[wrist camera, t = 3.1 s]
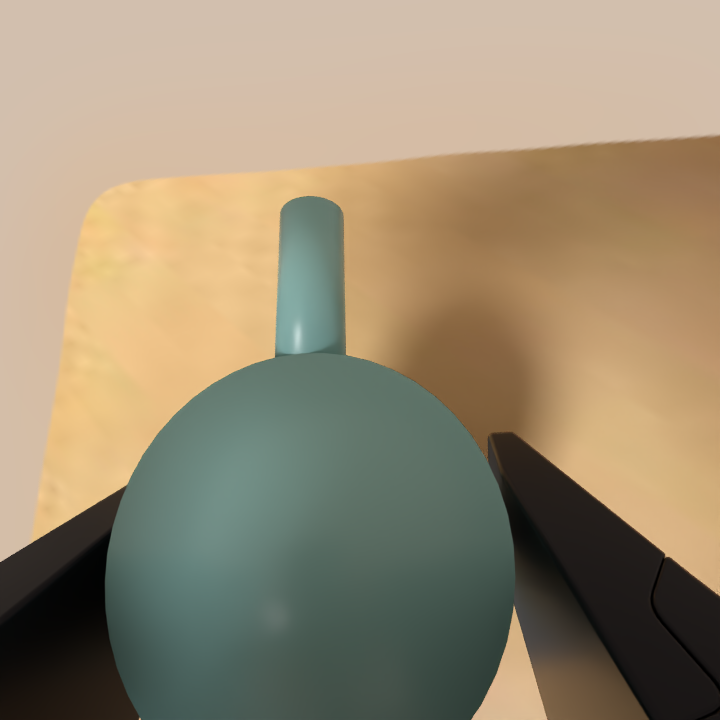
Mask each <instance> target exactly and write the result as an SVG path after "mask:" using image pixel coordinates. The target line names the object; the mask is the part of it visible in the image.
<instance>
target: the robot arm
mask: <svg viewBox="0 0 720 720" xmlns="http://www.w3.org/2000/svg"><path fill="white" fill-rule="evenodd" d="M488 461H489V466H490V468H491V470H492V472H493V474H494V477H495V479H496V481H497V483H498V485H499V488H500V491H501V495H502V498H503V501H504V504H505V507H506V510H507V513H508V518H509V523H510V529H511V534H512V539H513V545H514V561H515V591H514V606H515V609H516V613H517V616H518V620H519V623H520V626H521V630H522V633H523V637H524V640H525V644H526V647H527V651H528V654H529V657H530V661H531V664H532V668H533V671H534V675H535V678H536V682H537V685H538V688H539V692H540V695H541V699H542V702H543V706H544V709H545V713H546V716H547V719H548V720H720V596H719V595H718V594H716V593H715V592H714V591H712V590H711V589H710V588H708V587H707V586H706V585H705V584H703V583H702V582H701V581H699V580H698V579H697V578H695V577H694V576H693V575H692V574H690V573H689V572H688V571H687V570H685V569H684V568H683V567H682V566H680V565H679V564H678V563H677V562H675V561H674V560H673V559H672V558H670V557H666V558H665V554H664V552H662V551H661V550H660V549H659V548H657V547H656V546H655V545H654V544H652V543H651V542H650V541H649V540H647V539H646V538H645V537H644V536H642V535H641V534H640V533H639V532H637V531H636V530H635V529H634V528H632V527H631V526H630V525H629V524H627V523H626V522H625V521H624V520H622V519H621V518H620V517H619V516H617V515H616V514H615V513H614V512H612V511H611V510H610V509H609V508H607V507H606V506H605V505H604V504H602V503H601V502H600V501H599V500H597V499H596V498H595V497H594V496H592V495H591V494H590V493H589V492H587V491H586V490H585V489H584V488H582V487H581V486H580V485H579V484H577V483H576V482H575V481H574V480H572V479H571V478H570V477H569V476H567V475H566V474H565V473H564V472H562V471H561V470H560V469H559V468H557V467H556V466H555V465H554V464H552V463H551V462H550V461H549V460H547V459H546V458H545V457H544V456H542V455H541V454H540V453H539V452H537V451H536V450H535V449H534V448H532V447H531V446H530V445H529V444H527V443H526V442H525V441H524V440H522V439H521V438H520V437H519V436H517V435H516V434H515V433H513V432H500V433H491V434H489V436H488ZM126 487H127V485H126V486H125V487H123V488H121V489H120V490H118V491H116V492H115V493H113V494H112V495H110V496H108V497H107V498H105V499H103V500H102V501H100V502H98V503H97V504H95V505H93V506H92V507H90V508H89V509H87V510H85V511H84V512H82V513H80V514H79V515H77V516H75V517H74V518H72V519H70V520H69V521H67V522H66V523H64V524H62V525H61V526H59V527H57V528H56V529H54V530H52V531H51V532H49V533H47V534H46V535H44V536H43V537H41V538H39V539H38V540H36V541H34V542H33V543H31V544H29V545H28V546H26V547H25V548H23V549H21V550H20V551H18V552H16V553H15V554H13V555H11V556H10V557H8V558H7V559H5V560H4V561H2V562H0V720H139V718H140V716H139V715H138V713H137V711H136V709H135V707H134V706H133V704H132V702H131V700H130V698H129V697H128V694H127V692H126V689H125V687H124V684H123V682H122V679H121V677H120V674H119V672H118V669H117V666H116V662H115V658H114V654H113V651H112V647H111V643H110V639H109V632H108V624H107V617H106V606H105V575H106V564H107V553H108V548H109V543H110V538H111V533H112V528H113V524H114V521H115V518H116V514H117V511H118V508H119V505H120V501H121V499H122V497H123V494H124V492H125V490H126Z"/></svg>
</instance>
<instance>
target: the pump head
mask: <svg viewBox="0 0 720 720" xmlns="http://www.w3.org/2000/svg"><path fill="white" fill-rule="evenodd" d="M514 591H515V561H514V545H513V539H512V534H511V529H510V523H509V518H508V513H507V510H506V507H505V504H504V501H503V498H502V495H501V491H500V488H499V485H498V483H497V481H496V479H495V477H494V474H493V472H492V470H491V468H490V466H489V464H488V462H487V459H486V458H485V456H484V454H483V453H482V451H481V450H480V448H479V447H478V445H477V443H476V442H475V440H474V439H473V437H472V435H471V434H470V433H469V432H468V430H467V429H466V428H465V427H464V426H463V424H462V423H461V422H460V421H459V420H458V418H457V417H456V416H455V415H454V414H453V413H452V412H451V411H450V410H449V409H448V408H447V407H446V406H445V405H444V404H443V403H442V402H441V401H440V400H438V399H437V398H436V397H435V396H434V395H433V394H431V393H430V392H428V391H427V390H426V389H424V388H423V387H422V386H420V385H419V384H417V383H416V382H415V381H413V380H411V379H409V378H407V377H405V376H404V375H402V374H400V373H398V372H396V371H394V370H392V369H390V368H387V367H385V366H382V365H379V364H377V363H374V362H371V361H368V360H364V359H360V358H355V357H351V356H347V355H346V336H345V276H344V216H343V212H342V210H341V209H340V207H339V206H338V205H336V204H335V203H334V202H332V201H330V200H328V199H325V198H321V197H314V196H306V197H299V198H296V199H293V200H291V201H289V202H288V203H286V204H285V205H284V206H283V208H282V209H281V212H280V233H279V260H278V288H277V315H276V342H275V358H272V359H269V360H265V361H262V362H258V363H255V364H252V365H250V366H247V367H245V368H243V369H240V370H238V371H235V372H233V373H231V374H229V375H228V376H226V377H224V378H222V379H221V380H219V381H217V382H215V383H213V384H212V385H210V386H209V387H208V388H206V389H205V390H204V391H202V392H201V393H199V394H198V395H197V396H195V397H194V398H193V399H192V400H190V401H189V402H188V403H187V404H186V405H185V406H184V407H183V408H182V409H180V410H179V411H178V412H177V413H176V414H175V415H174V416H173V417H172V418H171V420H170V421H169V422H168V423H167V424H166V425H165V426H164V427H163V429H162V430H161V431H160V432H159V433H158V435H157V436H156V437H155V439H154V440H153V442H152V443H151V444H150V446H149V447H148V449H147V450H146V451H145V453H144V454H143V456H142V458H141V460H140V462H139V463H138V465H137V467H136V469H135V470H134V472H133V474H132V476H131V478H130V480H129V483H128V485H127V487H126V490H125V492H124V494H123V497H122V499H121V501H120V505H119V508H118V511H117V514H116V518H115V521H114V524H113V528H112V533H111V538H110V543H109V548H108V553H107V564H106V575H105V606H106V617H107V624H108V632H109V639H110V643H111V647H112V651H113V654H114V658H115V662H116V666H117V669H118V672H119V674H120V677H121V679H122V682H123V684H124V687H125V689H126V692H127V694H128V697H129V698H130V700H131V702H132V704H133V706H134V707H135V709H136V711H137V713H138V715H139V716H140V718H141V720H471V719H472V717H473V716H474V714H475V713H476V711H477V710H478V709H479V707H480V706H481V704H482V702H483V700H484V698H485V696H486V694H487V692H488V690H489V688H490V686H491V684H492V682H493V680H494V677H495V675H496V673H497V670H498V667H499V664H500V661H501V658H502V655H503V652H504V649H505V646H506V643H507V639H508V634H509V629H510V624H511V619H512V613H513V606H514Z"/></svg>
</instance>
